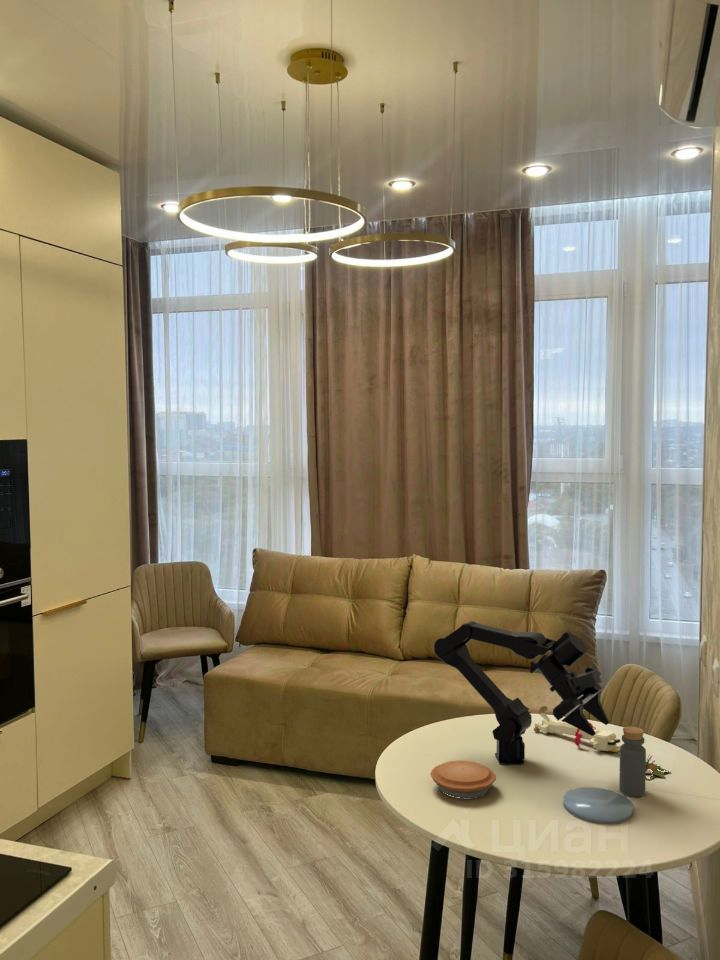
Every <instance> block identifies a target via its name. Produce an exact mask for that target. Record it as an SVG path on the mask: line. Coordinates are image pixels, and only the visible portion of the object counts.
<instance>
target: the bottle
mask: <svg viewBox="0 0 720 960" xmlns="http://www.w3.org/2000/svg"><path fill="white" fill-rule="evenodd" d="M622 732H623V734H622V735H621V741H622V742H623V743H622V744H621V745H619V746H620V748H619V778H618V779H619V783H618V784H619V792H620V794H622V795H623V796H627V797H630V798H631V797H633V798H640V797H641V798H642V797H643V796H645V794H646V780H647V779H646V774H647V771H646V762H647V750H646V748H645V747H644V746H643V745H644V744H645V737H644V733H645V731H644V729H642V728H641V727H637V726H625V727H623V728H622Z"/></svg>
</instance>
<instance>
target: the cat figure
mask: <svg viewBox="0 0 720 960" xmlns="http://www.w3.org/2000/svg"><path fill="white" fill-rule="evenodd" d="M547 711H548V706H547V705H543V704H542V705H541V706H540V707H539V709H538V714H539V715H540V717H541V718H543V719H542V720H541V724H540V723H539V722H535V723H534V727H533V731H534V732H535V733H540V731H541V732H542V733H550V734H554V733H555V734H559V735H568V736H569V735H570V736H573V737H574V744H575V746H577V747H581V745H580V744H581V743H582V740H583V739H584V740H588V741H589V744H591V745H592V748H595V749H594V751H598V752H599V751H600V752H601V751H605V752H609V751H610V752H614V753H618V752H620V746H621V745H618V746H617V744H619V743H621V739H620V738H619V737H617V735H616V733H615V732H614V731H608V730H601V731H600V730H599V729H597V728H596V727H595V726H594V725H593V723H591V722H590V721H588V722H589V723H590V725H591V726H592V728H593V729H594V731H595V733H596V734H595V735H593V736H591V735H589V734H587V733H586V732H584V731H582V730H580V729H578V728H576V727H574V726H572V725H570V724H568V723H566V722H562V721H561V720H555V719H550V717H548V715H547V713H545V712H547Z"/></svg>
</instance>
